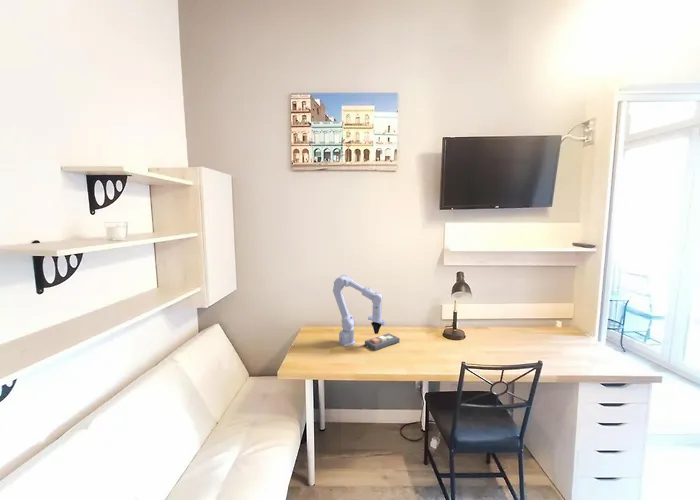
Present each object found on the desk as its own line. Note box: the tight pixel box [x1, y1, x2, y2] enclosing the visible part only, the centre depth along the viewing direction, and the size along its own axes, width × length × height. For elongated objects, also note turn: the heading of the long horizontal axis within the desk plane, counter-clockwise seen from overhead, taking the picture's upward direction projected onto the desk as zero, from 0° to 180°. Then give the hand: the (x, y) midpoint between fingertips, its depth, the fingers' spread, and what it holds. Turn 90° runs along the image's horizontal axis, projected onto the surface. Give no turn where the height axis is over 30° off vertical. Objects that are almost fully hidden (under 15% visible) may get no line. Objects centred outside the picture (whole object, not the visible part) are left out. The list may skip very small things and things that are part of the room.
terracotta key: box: [370, 337, 380, 344], centre depth 209 cm, size 4×4×2 cm
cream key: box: [377, 335, 387, 342], centre depth 213 cm, size 4×4×2 cm
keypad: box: [364, 332, 401, 352], centre depth 213 cm, size 21×10×3 cm, turn 127°
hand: (376, 333), depth 209 cm, fingers closed
